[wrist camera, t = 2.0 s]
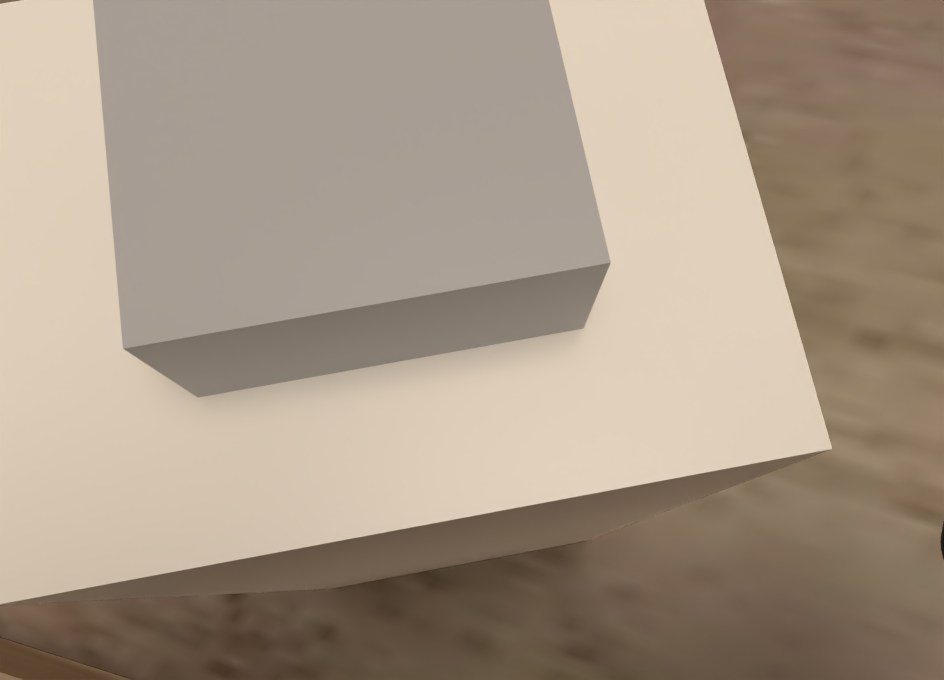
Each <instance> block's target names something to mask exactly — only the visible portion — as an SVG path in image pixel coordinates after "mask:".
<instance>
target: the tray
mask: <svg viewBox="0 0 944 680" xmlns="http://www.w3.org/2000/svg"><path fill="white" fill-rule="evenodd" d="M0 680H131V679H128V678H125V677H122V676H119V675H115V674H112V673H109V672H106V671H103V670H100V669H97V668H94V667H90V666H87V665H84V664H81V663H78V662H75V661H72V660H69V659H65V658H62V657H59V656H56V655H53V654H50V653H47V652H44V651H40V650H37V649H34V648H31V647H28V646H25V645H22V644H19V643H15V642H12V641H9V640H6V639H3V638H0Z"/></svg>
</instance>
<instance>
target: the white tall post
mask: <svg viewBox="0 0 944 680" xmlns="http://www.w3.org/2000/svg"><path fill="white" fill-rule="evenodd" d="M831 449H832V447H831V443H830V440H829V436H828V433H827V429H826V426H825V422H824V419H823V415H822V412H821V408H820V405H819V401H818V398H817V394H816V391H815V387H814V384H813V380H812V377H811V373H810V370H809V366H808V363H807V359H806V356H805V352H804V349H803V345H802V342H801V338H800V335H799V331H798V328H797V324H796V321H795V317H794V314H793V311H792V307H791V304H790V300H789V297H788V293H787V290H786V286H785V283H784V279H783V276H782V272H781V269H780V265H779V262H778V258H777V255H776V251H775V248H774V244H773V241H772V237H771V234H770V230H769V227H768V223H767V220H766V216H765V213H764V209H763V206H762V202H761V199H760V195H759V192H758V188H757V185H756V181H755V178H754V174H753V171H752V167H751V164H750V160H749V157H748V154H747V150H746V147H745V143H744V140H743V136H742V133H741V129H740V126H739V122H738V119H737V115H736V112H735V108H734V105H733V101H732V98H731V94H730V91H729V87H728V84H727V80H726V77H725V73H724V70H723V66H722V63H721V59H720V56H719V52H718V49H717V45H716V42H715V38H714V35H713V31H712V28H711V24H710V21H709V17H708V14H707V10H706V7H705V3H704V0H22V1H16V2H10V3H3V4H0V605H18V604H38V603H58V602H78V601H98V600H118V599H137V598H157V597H177V596H197V595H217V594H237V593H257V592H277V591H297V590H316V589H333V588H338V587H344V586H349V585H354V584H360V583H365V582H370V581H376V580H381V579H386V578H391V577H397V576H402V575H407V574H413V573H418V572H423V571H429V570H434V569H439V568H444V567H450V566H455V565H460V564H466V563H471V562H476V561H482V560H487V559H492V558H498V557H503V556H508V555H513V554H519V553H524V552H529V551H535V550H540V549H545V548H551V547H556V546H561V545H566V544H572V543H577V542H582V541H588V540H591V539H593V538H596V537H599V536H601V535H604V534H607V533H609V532H612V531H615V530H617V529H620V528H623V527H625V526H628V525H631V524H633V523H636V522H639V521H641V520H644V519H647V518H649V517H652V516H655V515H657V514H660V513H663V512H665V511H668V510H671V509H673V508H676V507H679V506H681V505H684V504H687V503H689V502H692V501H695V500H697V499H700V498H703V497H705V496H708V495H711V494H713V493H716V492H719V491H721V490H724V489H727V488H729V487H732V486H735V485H737V484H740V483H743V482H745V481H748V480H751V479H753V478H756V477H759V476H761V475H764V474H767V473H769V472H772V471H775V470H777V469H780V468H783V467H785V466H788V465H791V464H793V463H796V462H799V461H801V460H804V459H807V458H809V457H812V456H815V455H817V454H820V453H823V452H825V451H828V450H831Z"/></svg>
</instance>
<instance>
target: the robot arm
mask: <svg viewBox="0 0 944 680" xmlns="http://www.w3.org/2000/svg"><path fill="white" fill-rule="evenodd" d="M941 551H942V555H943V559H944V522H943V528H942V533H941Z"/></svg>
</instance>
